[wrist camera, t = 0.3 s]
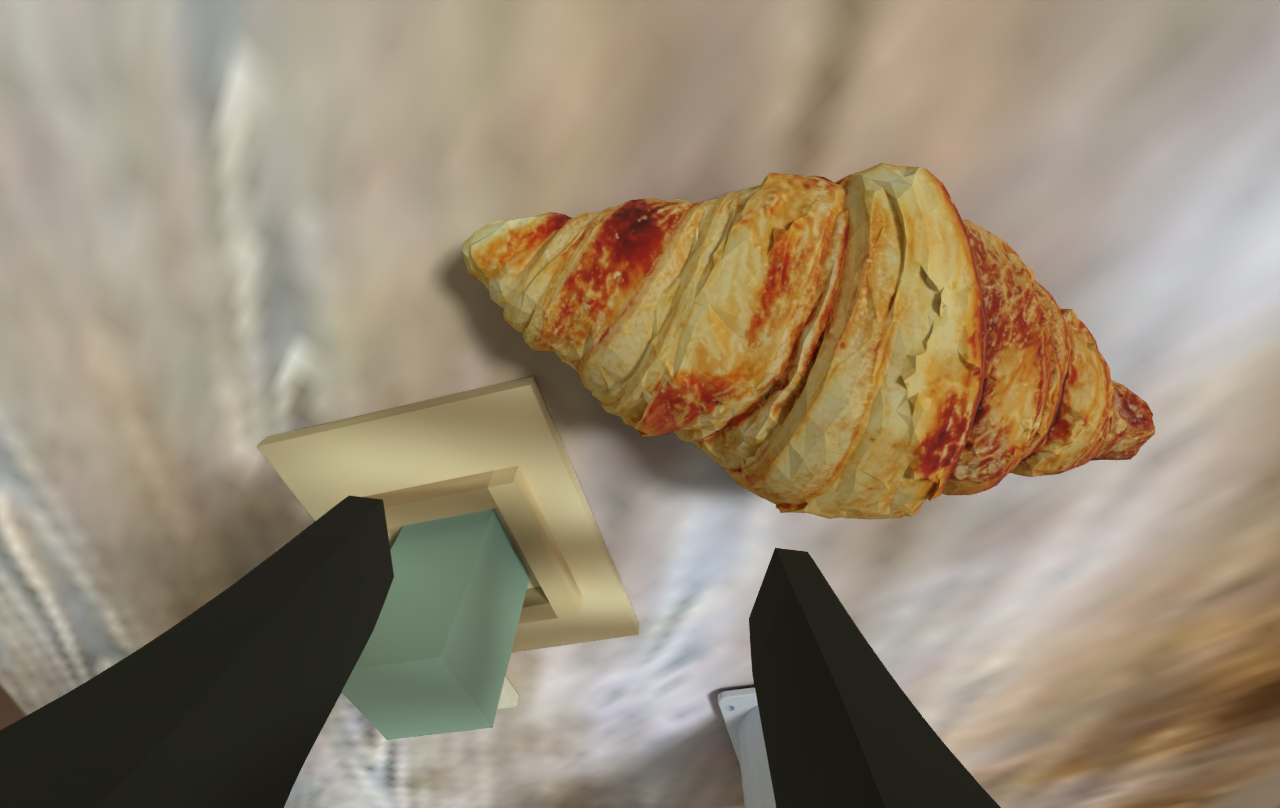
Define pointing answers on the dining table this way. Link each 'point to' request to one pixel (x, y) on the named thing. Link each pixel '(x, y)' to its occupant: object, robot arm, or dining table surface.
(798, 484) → the croissant
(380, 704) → the block
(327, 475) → the pocket board
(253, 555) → the dining table surface
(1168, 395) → the dining table surface
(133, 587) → the dining table surface
